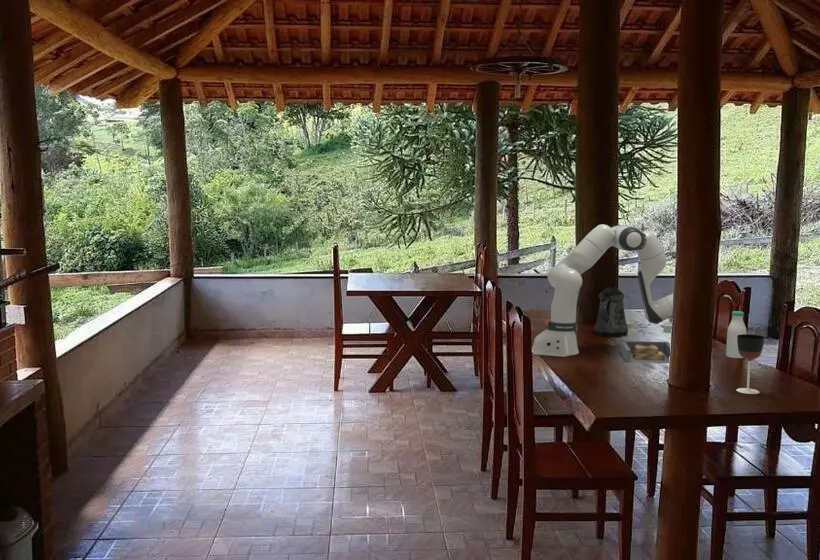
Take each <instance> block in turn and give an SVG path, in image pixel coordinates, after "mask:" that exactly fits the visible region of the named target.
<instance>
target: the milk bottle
mask: <svg viewBox="0 0 820 560" xmlns="http://www.w3.org/2000/svg"><path fill="white" fill-rule="evenodd" d="M744 314H745V313H744V312H743V311H740V310H739V311H738V310H733V311H732V312H731V321H730V323H729V325H728V328H727V332H726V333H727V334H726V348H725V349H726V350H725V356H726V357H727V358H731V359H744V358H743V357H742V356H741V355H740V354H739V351H738V344H737V335H742V334H747V332H748V331H747V327H746V325H745V322H744Z"/></svg>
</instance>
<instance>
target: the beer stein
mask: <svg viewBox="0 0 820 560" xmlns="http://www.w3.org/2000/svg"><path fill="white" fill-rule="evenodd" d="M598 298H599V299H600V301H599V305H598V306H599V307H598V313H597V318H596V323H595V325H594V333H596V334H597V335H596V334H595V335H596V336H598V335H600V336H599V337H603V336H606V337H605V338H624V337H623V336H625V337H627V336H628V333H629V332H628V331H629V326H628V325H627V320H626V315H625V308H624V298H625V294H624V293H623V292H622V291H621V290H620V289H618V288H617V286H616V285H607V286H606V288H605V289H603V290H602V291H601V292H600V293H599V294H598ZM626 335H627V336H626Z"/></svg>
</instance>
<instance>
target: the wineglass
mask: <svg viewBox="0 0 820 560" xmlns="http://www.w3.org/2000/svg"><path fill="white" fill-rule="evenodd" d="M764 343H765V336H762V335H758V334H742V335H737V344H738V351H739V354H740V355H741V356H742V357H743V358H742V359H745V360H747V374H746V375H747V377H746V388H745V387H740V388H739V387H738V388H737V389H736V392H738V393H742V394H749V395H757V394H760V391H759V390H757V389H753V388H750V382H751V381H750V379H751V377H750V376H751V361H753V360H756V359H758V358H759V357H760V356H761V355H762V352H763V348H764V345H765V344H764Z"/></svg>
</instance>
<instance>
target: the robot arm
mask: <svg viewBox="0 0 820 560" xmlns="http://www.w3.org/2000/svg"><path fill="white" fill-rule="evenodd" d="M611 247H612V248H615V249H618V250H620V251H625V252H626V251H627V252H635V253H637V256H638V260H639V262H640V267H639V270H638V272H637V280H638V287H639V290H640V291H639V292H640V294H641V299H642V306H643V310H644V317H645V318H646V320H647V321H648V323H651V324H654V325H658V324H660V323H662V322H663V324H660V328H662V329H663V333H665V334H672V333H671V329H672V310H673V293H670V294H668V295H666V296H664V297H662V298H659V299H657V300H653V298H652V293H651V287H650V286H651V283H652V282H653V280H654V279H655V278H656V277H657V276H659V274H661V273H662V271H664V270H665V267H666V265H667V261H668V260H667V255H666V253H665V250H664V248H663V245H662V244H661V242H660V240H659V239H658V237H657V236H656V234H655V233H654V232H653V231H651V230H644V231H641V230H640V229H638V228H636V227H634V226H630V225H626V224H625V225H624V224H616V225H613V226H609V225H608V224H605V223H603V224H598V225H596V227H594V228H593V229H592V230H591V231H590V232H588V233H587V234H586V235H585V236H584V237H583V239H582V240H581V241H580V242H579V243H578V244H577V245H576V247H574V248H573V250H572V251H571V252H570V253H569V254H567V255H566V256H565V257H564V258H562V259H561V260H560V261H559V262H557V264H556V265H554V266H553V267H551V268H550V269H549V271H548V272H547V280H548V283H549V284H550V286H551V287H553V288H554V294H553V298H552V301H551V304H550V320H549V319H548V320H546V321H545V322H544V323H545V326H546V327H545V329H544V330H543V331H542V332H540V333H539V334H537V335H536V336H535V338H534V340H533V343H532V350H533V354H532V355H535V356H536V355H537V356H548V357H549V356H550V357H562V358H563V357H564V358H565V357H569V356H575V355H578V354H579V353H580V351H579V347H578V341H577V340H578V339H577V333H578V322H577V304H578V299H579V294H580V289H581V287H582V286H583V277H582V275H583V273H585V272H586V271H587V270H589V269H591V268H592V267H593V266H594V265H595V264H596V263H597V262H598V260H600V259H601V257H602V256H603V255H605V253H606V252H607V250H608V249H609V248H611ZM666 320H668V321H666ZM664 321H666V322H664Z"/></svg>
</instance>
